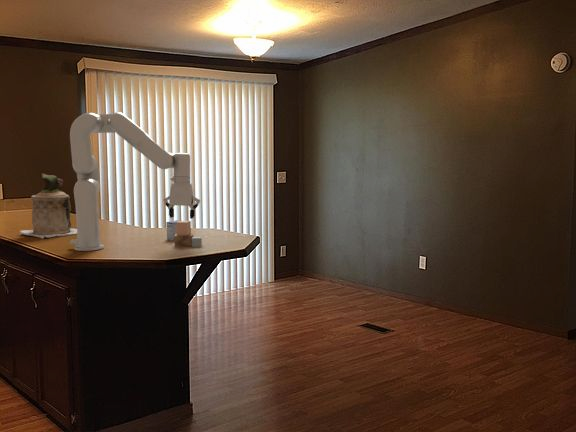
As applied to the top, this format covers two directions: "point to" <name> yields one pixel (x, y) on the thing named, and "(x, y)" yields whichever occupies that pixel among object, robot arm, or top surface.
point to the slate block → (196, 241)
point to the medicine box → (171, 229)
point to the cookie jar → (51, 210)
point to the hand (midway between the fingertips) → (181, 217)
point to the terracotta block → (183, 228)
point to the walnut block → (183, 240)
